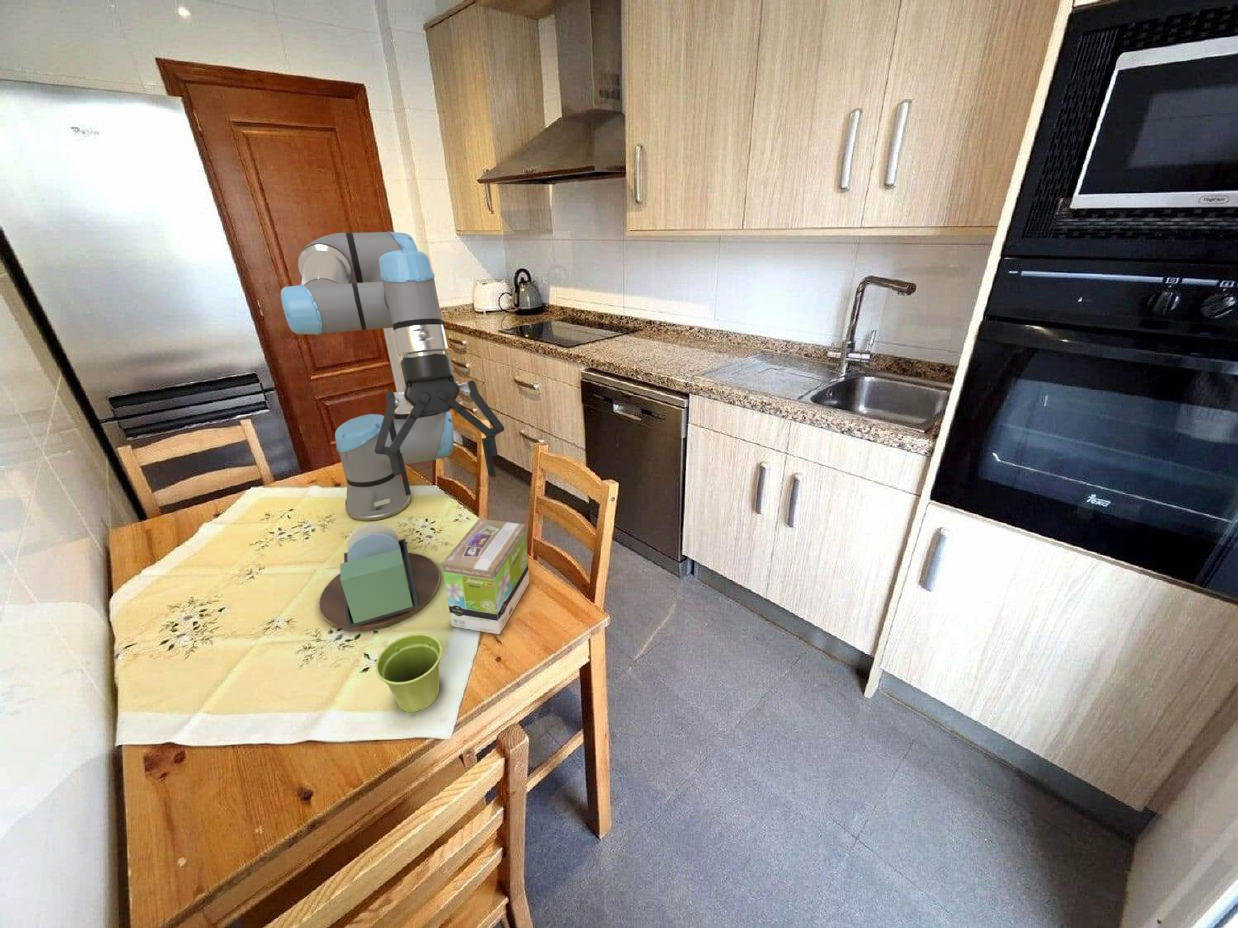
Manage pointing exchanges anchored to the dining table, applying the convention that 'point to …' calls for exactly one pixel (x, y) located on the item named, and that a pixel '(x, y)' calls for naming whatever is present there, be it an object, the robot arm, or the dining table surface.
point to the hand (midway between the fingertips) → (451, 484)
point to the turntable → (425, 589)
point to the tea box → (486, 575)
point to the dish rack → (376, 575)
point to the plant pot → (411, 670)
